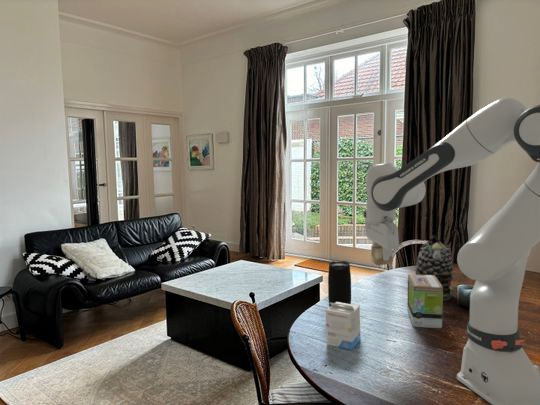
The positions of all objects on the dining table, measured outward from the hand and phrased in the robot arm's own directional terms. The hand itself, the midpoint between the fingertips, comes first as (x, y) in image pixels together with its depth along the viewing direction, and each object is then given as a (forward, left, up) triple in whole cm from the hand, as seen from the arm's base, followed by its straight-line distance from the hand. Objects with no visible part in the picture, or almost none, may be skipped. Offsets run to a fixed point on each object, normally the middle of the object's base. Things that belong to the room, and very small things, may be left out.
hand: (381, 257), depth 130 cm
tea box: (+12, -20, -27) cm, 36 cm away
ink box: (-1, +13, -27) cm, 30 cm away
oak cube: (0, 0, -2) cm, 2 cm away
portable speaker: (+23, +8, -27) cm, 37 cm away
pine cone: (+36, -36, -27) cm, 58 cm away
